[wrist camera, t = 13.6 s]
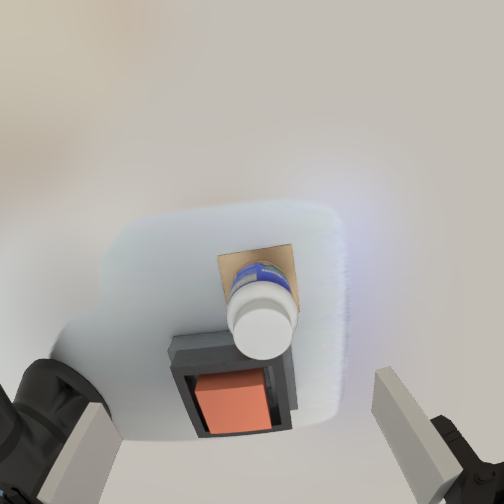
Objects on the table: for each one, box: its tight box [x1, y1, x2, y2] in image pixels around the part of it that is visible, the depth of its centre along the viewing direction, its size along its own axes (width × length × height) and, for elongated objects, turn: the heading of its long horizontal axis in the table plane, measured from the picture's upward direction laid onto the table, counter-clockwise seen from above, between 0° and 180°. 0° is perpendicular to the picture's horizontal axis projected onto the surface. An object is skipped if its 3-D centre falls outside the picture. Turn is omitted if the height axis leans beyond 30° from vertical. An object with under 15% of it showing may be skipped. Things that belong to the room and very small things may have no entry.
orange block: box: [195, 367, 272, 434], centre depth 26 cm, size 6×6×5 cm
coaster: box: [218, 244, 300, 313], centre depth 28 cm, size 7×7×1 cm
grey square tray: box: [168, 330, 298, 438], centre depth 28 cm, size 12×10×6 cm
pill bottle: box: [226, 261, 298, 360], centre depth 23 cm, size 5×5×10 cm
